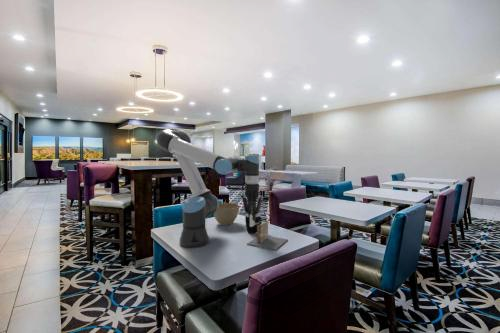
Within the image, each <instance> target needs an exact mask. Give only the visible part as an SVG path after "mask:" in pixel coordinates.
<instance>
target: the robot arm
mask: <svg viewBox="0 0 500 333" xmlns="http://www.w3.org/2000/svg"><path fill="white" fill-rule="evenodd" d="M156 144H157V145H158V147H159V148H160V149H162V150H163V151H166V152H168V153H170V154H171V155H172V157H173V158H176V161H177V162H178V164H179V167H180V170H181V171H182V173H183V175H184V177H185V180H186V182H187V185H188V187H189V190H190V191H191V194H192V196H190V197H188V198H185V199H184V200H183V201H182V206H181V207H182V208H181V210H182V230H181V233H180V238H179V245H180V246H182V247H183V248H199V247H204V246H206V245H208V244H209V242H210V237H209V235H208V232H207V231H208V230H207V228H206V219H207V218H208V217H211V216H214V213H215V212H216V211H217V210H218V207H219V202H220V201H219V199H218V197H216V196H215V195H214V194H213V193H212V192H211V190H210V189H208V188H207V187H206V185H205V182H204V180H203V178H202V175H201V173H200V171H199V169H198V167H197V165H196V163H199V164H201V165H204V166H206V167H207V168H211V169H213V170H215V171H216V173H217V174H220V175H228V174H232V173H245V174H244V178H245V179H244V182H245V183H244V184H245V186H244V190H245V192H244V193H243V194H242V195H241V196H240V198H241V199H242V204H243V209H244V212H245V214H248V219H249V220H250V227H253V226H254V221H255V220H256V214H259V213H260V209H261V206H262V202H263V199H264V196H262V195H260V184H259V183H260V159H259V158H260V157H259V155H258V154H245V156H244V158H243V157H241V158H238V157H237V158H236V157H230V158H227V157H223V156H222V155H219V154H217V153H214V152H212V151H210V150H207V149H204V148H202V147H200V146H198V145H194V144H193V143H192V140H191V137H190V136H189V134H188V133H187V132H184V131H183V130H173V129H163V130H161V131H160V132H159V133H158V134H157V136H156Z"/></svg>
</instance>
